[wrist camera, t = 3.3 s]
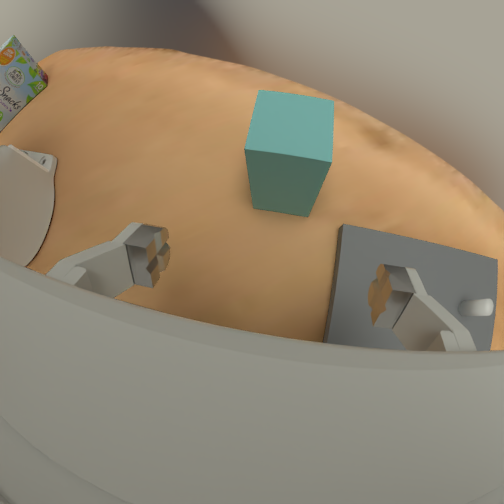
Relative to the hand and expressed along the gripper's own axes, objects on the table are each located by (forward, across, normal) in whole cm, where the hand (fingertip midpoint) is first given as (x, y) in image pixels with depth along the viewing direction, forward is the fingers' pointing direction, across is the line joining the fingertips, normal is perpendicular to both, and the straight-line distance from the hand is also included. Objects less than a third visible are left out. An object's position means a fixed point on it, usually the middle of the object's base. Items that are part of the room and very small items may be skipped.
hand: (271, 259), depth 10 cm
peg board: (+7, -15, +12) cm, 21 cm away
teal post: (+16, 0, +3) cm, 16 cm away
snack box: (+26, +56, -7) cm, 62 cm away
